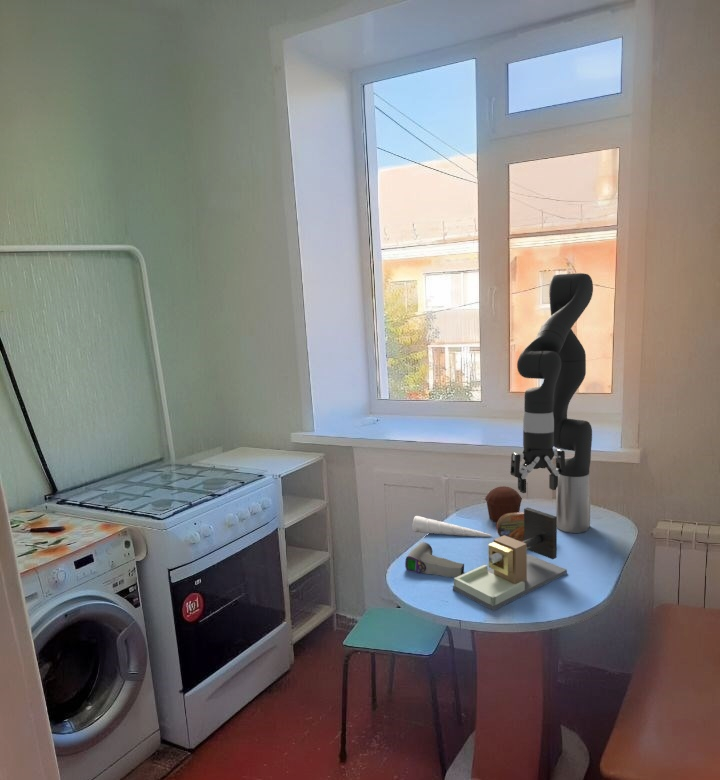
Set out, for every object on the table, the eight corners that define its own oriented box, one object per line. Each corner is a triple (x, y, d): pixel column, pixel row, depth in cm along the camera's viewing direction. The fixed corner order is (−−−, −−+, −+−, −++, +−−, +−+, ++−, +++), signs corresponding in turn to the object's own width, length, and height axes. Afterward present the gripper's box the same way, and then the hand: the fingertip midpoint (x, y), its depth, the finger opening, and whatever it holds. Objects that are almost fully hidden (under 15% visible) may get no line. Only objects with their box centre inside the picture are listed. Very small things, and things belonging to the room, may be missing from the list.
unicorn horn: (490, 542, 174) (489, 526, 173) (411, 534, 183) (410, 519, 182) (493, 536, 178) (492, 520, 178) (415, 528, 187) (415, 513, 187)
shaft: (527, 546, 160) (527, 507, 159) (556, 557, 153) (556, 516, 151) (478, 568, 150) (477, 526, 148) (506, 581, 142) (506, 537, 141)
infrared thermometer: (459, 584, 153) (403, 572, 159) (469, 563, 164) (417, 553, 170) (460, 567, 152) (404, 556, 158) (470, 547, 163) (417, 538, 169)
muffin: (498, 509, 199) (498, 480, 197) (528, 516, 191) (528, 486, 190) (478, 520, 191) (477, 489, 189) (509, 528, 183) (509, 497, 181)
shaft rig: (525, 556, 164) (525, 519, 162) (566, 573, 153) (567, 534, 151) (452, 589, 148) (451, 549, 146) (493, 610, 137) (492, 567, 136)
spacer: (494, 564, 151) (494, 542, 150) (513, 573, 146) (513, 549, 145) (488, 567, 150) (488, 544, 149) (507, 575, 145) (507, 552, 144)
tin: (498, 544, 172) (498, 516, 171) (495, 539, 176) (495, 512, 174) (550, 541, 173) (550, 513, 172) (546, 536, 176) (546, 509, 175)
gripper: (555, 424, 158) (554, 484, 160) (506, 428, 155) (505, 489, 157) (571, 429, 151) (570, 492, 153) (520, 433, 148) (519, 497, 150)
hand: (537, 490), depth 155 cm, fingers open, 8 cm apart
